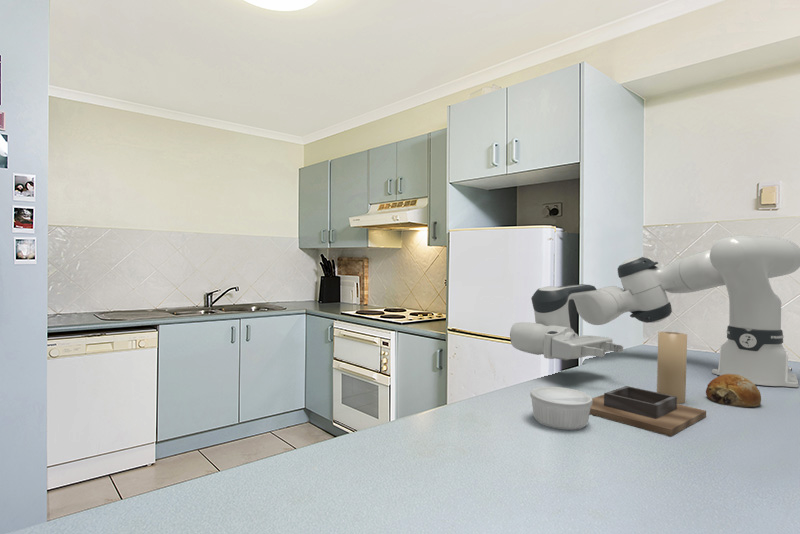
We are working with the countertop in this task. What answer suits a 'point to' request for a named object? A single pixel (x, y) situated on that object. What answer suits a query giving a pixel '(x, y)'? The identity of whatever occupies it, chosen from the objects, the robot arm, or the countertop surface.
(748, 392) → the bread roll
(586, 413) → the ramekin
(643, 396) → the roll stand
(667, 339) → the beige pillar candle
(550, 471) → the countertop surface
